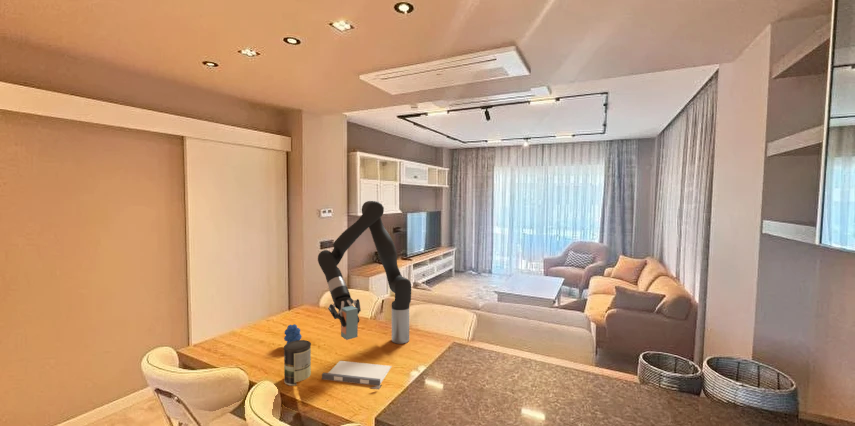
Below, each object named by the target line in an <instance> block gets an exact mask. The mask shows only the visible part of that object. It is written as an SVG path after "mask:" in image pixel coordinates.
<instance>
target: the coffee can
mask: <svg viewBox="0 0 855 426" xmlns="http://www.w3.org/2000/svg"><path fill="white" fill-rule="evenodd" d="M311 346H312V342H310V341H309V340H304V339H300V340H297V341H292V342H289V343H287V342H286V344H285V345H284V346H283V363H284V364H283V365H284V367H283V370H284V371H283V372H284V375H283V376H284V377H283V378H284V381H283V382H284V384H285V385H287V386H289V387H290V386H291V387H292V386H293V387H295V386H298V384H297V382H298V383H299V382H302V381H304V380H306V379H309V377H310V376H311V373H312V372H311V370H312V369H311V367H312V365H311V364H312V362H311V360H312V356H311V354H312V353H311V352H312V350H311Z"/></svg>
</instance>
